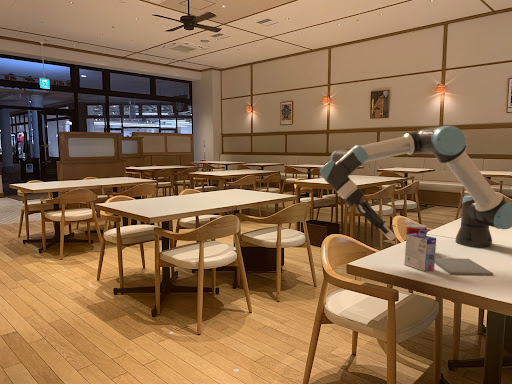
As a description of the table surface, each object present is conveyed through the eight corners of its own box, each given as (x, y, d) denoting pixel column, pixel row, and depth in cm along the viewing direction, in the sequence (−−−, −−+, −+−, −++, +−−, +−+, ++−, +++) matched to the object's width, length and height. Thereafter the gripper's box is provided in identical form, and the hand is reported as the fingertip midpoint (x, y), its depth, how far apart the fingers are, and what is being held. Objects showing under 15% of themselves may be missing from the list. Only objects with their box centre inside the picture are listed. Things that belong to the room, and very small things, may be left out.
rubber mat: (468, 260, 158) (468, 258, 158) (493, 275, 140) (493, 273, 140) (430, 259, 159) (430, 258, 159) (450, 274, 141) (450, 272, 141)
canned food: (427, 252, 170) (428, 227, 168) (407, 251, 171) (408, 226, 170) (423, 248, 177) (424, 224, 176) (404, 247, 179) (405, 223, 177)
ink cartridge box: (435, 269, 146) (437, 231, 144) (425, 272, 144) (427, 233, 142) (413, 262, 155) (415, 226, 153) (403, 264, 152) (405, 228, 151)
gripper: (347, 198, 164) (387, 241, 159) (341, 202, 152) (384, 248, 147) (360, 186, 161) (401, 229, 156) (355, 189, 149) (400, 236, 145)
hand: (393, 238), depth 152 cm, fingers closed
